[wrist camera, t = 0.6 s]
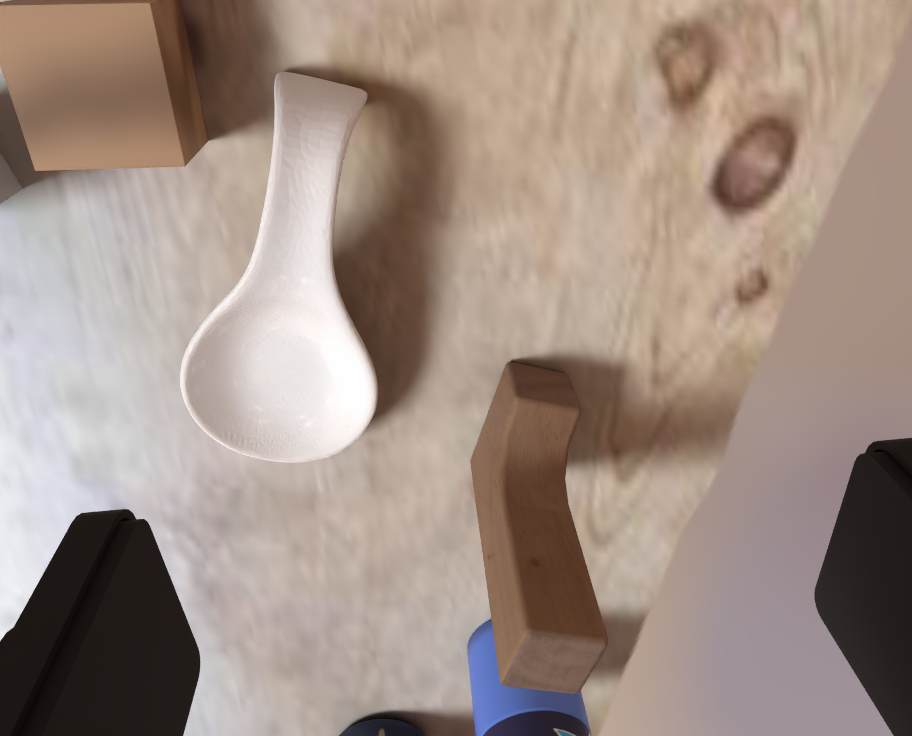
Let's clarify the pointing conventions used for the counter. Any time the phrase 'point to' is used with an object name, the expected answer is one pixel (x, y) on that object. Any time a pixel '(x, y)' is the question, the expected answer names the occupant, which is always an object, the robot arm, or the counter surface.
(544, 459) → the wooden block
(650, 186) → the counter surface
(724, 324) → the counter surface
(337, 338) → the spoon rest
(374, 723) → the canister
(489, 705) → the water bottle
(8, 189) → the grey block
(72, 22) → the walnut block
